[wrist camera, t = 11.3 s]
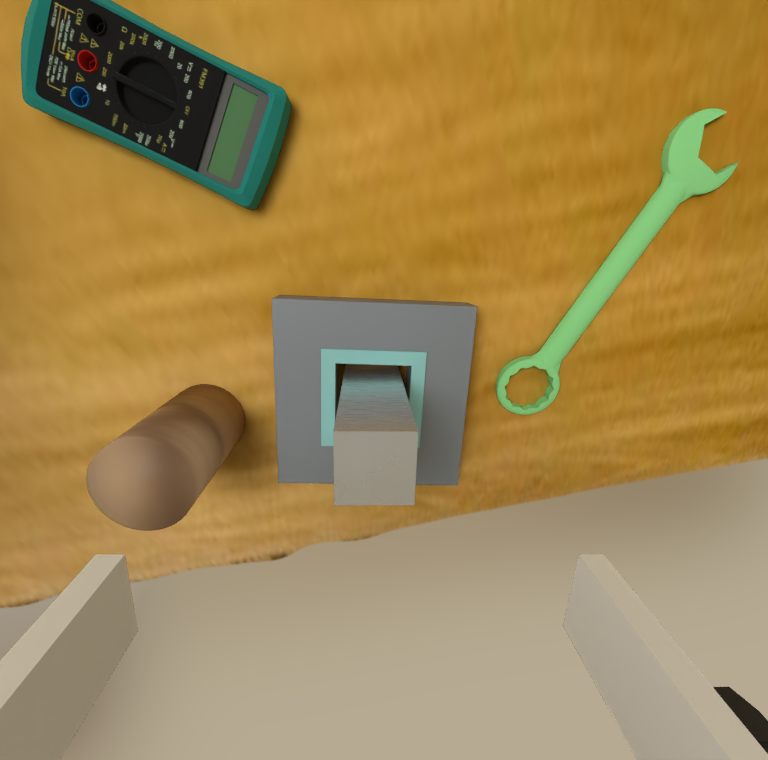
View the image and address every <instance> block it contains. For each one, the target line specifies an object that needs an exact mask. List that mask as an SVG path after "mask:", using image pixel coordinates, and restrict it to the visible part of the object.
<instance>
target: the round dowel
mask: <svg viewBox="0 0 768 760" xmlns="http://www.w3.org/2000/svg"><path fill="white" fill-rule="evenodd" d="M244 428H245V415H244V411H243V409H242V406H241V405H240V403H239V402H238V400H237V399H236V398H235V397H234V396H233V395H232V394H231V393H229V392H228V391H226V390H225V389H222V388H220V387H217V386H214V385H208V384H200V385H195V386H191V387H189V388H187V389H185V390H184V391H182V392H181V393H179V394H178V395H177V396H175V397H174V398H172V399H171V400H170V401H168V402H167V403H165V404H164V405H163V406H161V407H160V408H158V409H157V410H156V411H154V412H153V413H151V414H150V415H148V416H147V417H146V418H144V419H143V420H141V421H140V422H139V423H137V424H136V425H134V426H133V427H132V428H130V429H129V430H127V431H126V432H125V433H123V434H122V435H120V436H119V437H118V438H116V439H115V440H113V441H112V442H111V443H109V444H108V445H106V446H105V447H104V448H102V449H101V450H100V451H99V452H97V453H96V455H95V456H94V457H93V459H92V460H91V462H90V464H89V467H88V470H87V477H86V481H87V488H88V491H89V494H90V496H91V498H92V500H93V502H94V503H95V505H96V506H97V507H98V509H99V510H100V511H101V512H102V513H103V514H105V515H106V516H107V517H108V518H110V519H111V520H113V521H114V522H116V523H118V524H120V525H123V526H125V527H128V528H132V529H136V530H145V531H151V530H159V529H163V528H167V527H169V526H172V525H174V524H175V523H177V522H178V521H180V520H181V519H182V518H183V517H184V516H185V515H186V514H187V512H188V511H189V510H190V508H191V507H192V505H193V504H194V503H195V501H196V500H197V498H198V497H199V495H200V494H201V493H202V491H203V490H204V488H205V487H206V486H207V484H208V483H209V481H210V480H211V478H212V477H213V476H214V474H215V473H216V471H217V470H218V469H219V467H220V466H221V464H222V463H223V461H224V460H225V459H226V457H227V456H228V454H229V453H230V452H231V450H232V449H233V447H234V446H235V444H236V443H237V442H238V440H239V439H240V437H241V436H242V434H243V431H244Z"/></svg>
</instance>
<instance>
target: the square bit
mask: <svg viewBox="0 0 768 760" xmlns="http://www.w3.org/2000/svg"><path fill="white" fill-rule="evenodd" d="M417 447H418V429H417V426H416V423H415V419H414V416H413V413H412V410H411V407H410V403H409V400H408V397H407V394H406V391H405V387H404V384H403V381H402V378H401V375H400V371H399V368H398V365H371V364H346V366H345V371H344V376H343V382H342V387H341V393H340V398H339V403H338V409H337V414H336V419H335V425H334V430H333V450H334V506H337V505H414V503H415V484H416V466H417Z"/></svg>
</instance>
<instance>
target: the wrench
mask: <svg viewBox="0 0 768 760" xmlns="http://www.w3.org/2000/svg"><path fill="white" fill-rule="evenodd" d="M725 113H727V112H726V111H724V110H721V109H715V108H710V109H704V110H701V111H698V112H696V113H694V114H692V115H690V116H688V117H687V118H685V119H684V120H682V121H681V122H680V123H679V124H678V125H677V126H676V127H675V128H674V129H673V131H672V132H671V134H670V135H669V137H668V138H667V141H666V143H665V145H664V149H663V153H662V160H661V166H662V173H663V177H662V181H661V184H660V186H659V187H658V189H657V190H656V191H655V193H654V194H653V195H652V197H651V198H650V199H649V201H648V202H647V204H646V205H645V206H644V208H643V209H642V210H641V212H640V213H639V215H638V216H637V217H636V219H635V220H634V221H633V223H632V224H631V226H630V227H629V228H628V230H627V231H626V232H625V234H624V235H623V236H622V238H621V239H620V241H619V242H618V243H617V245H616V246H615V247H614V249H613V250H612V252H611V253H610V254H609V256H608V257H607V258H606V260H605V261H604V263H603V264H602V265H601V267H600V268H599V269H598V271H597V272H596V274H595V275H594V276H593V278H592V279H591V280H590V282H589V283H588V285H587V286H586V287H585V289H584V290H583V291H582V293H581V294H580V296H579V297H578V298H577V300H576V301H575V302H574V304H573V305H572V307H571V308H570V309H569V311H568V312H567V313H566V315H565V316H564V318H563V319H562V320H561V322H560V323H559V324H558V326H557V327H556V329H555V330H554V331H553V333H552V334H551V335H550V337H549V338H548V340H547V341H546V342H545V344H544V345H543V346H542V348H541V349H540V351H539V352H537V353H536V354H534V355H532V356H523V357H519V358H516V359H514V360H512V361H510V362H509V363H508V364H506V365H505V366H504V367H503V368H502V370H501V371H500V373H499V375H498V378H497V381H496V394H497V397H498V399H499V401H500V403H501V404H502V405H503V407H504V408H506V409H507V410H508V411H510V412H512V413H516V414H521V415H527V414H533V413H537V412H539V411H541V410H543V409H545V408H546V407H548V406H549V405H550V404H551V403H552V402H553V400H554V399H555V398H556V396H557V394H558V391H559V387H560V380H559V376H558V373H559V369H560V365H561V362H562V360H563V359H564V358H565V356H566V355H567V354H568V352H569V351H570V350H571V348H572V347H573V346H574V344H575V343H576V342H577V340H578V339H579V338H580V336H581V335H582V334H583V332H584V331H585V329H586V328H587V327H588V325H589V324H590V323H591V321H592V320H593V319H594V317H595V316H596V315H597V313H598V312H599V311H600V309H601V308H602V307H603V305H604V304H605V303H606V301H607V300H608V299H609V297H610V296H611V295H612V293H613V292H614V291H615V289H616V288H617V287H618V285H619V284H620V283H621V281H622V280H623V279H624V277H625V276H626V275H627V273H628V272H629V270H630V269H631V268H632V266H633V265H634V264H635V262H636V261H637V260H638V258H639V257H640V256H641V254H642V253H643V252H644V250H645V249H646V248H647V246H648V245H649V244H650V242H651V241H652V240H653V238H654V237H655V236H656V234H657V233H658V232H659V230H660V229H661V228H662V226H663V225H664V224H665V222H666V221H667V220H668V218H669V217H670V216H671V214H672V213H673V211H674V210H675V209H676V207H677V206H678V205H679V204H680V203H682V202H683V201H685V200H686V199H688V198H689V197H691V196H694V195H701V194H705V193H708V192H711V191H713V190H715V189H717V188H718V187H720V186H721V185H722V184H723V183H724V182H726V180H727V179H728V178H729V177H730V176H731V175H732V173H733V171H734V170H735V168H736V166H737V164H738V162H737V163H734V164H731V165H729V166H727V167H725V168H723V169H721V170H720V171H718V172H716V173H714V172H713V171H712V170H711V169H710V168H709V167H708V166H707V165H706V164H705V163H704V162H703V161H701V160H700V159H699V158H698V154H699V150H700V145H701V141H702V136H703V130H704V125H705V124H707V123H709V122H710V121H712V120H714V119H716V118H718V117H720V116H721V115H723V114H725ZM532 366H536V367H537V368H539V369H544V370H545V372H546V373H547V374H548V382H549V384H550V385H549V386H548V387H547V389H546V391H545V396H544V397H542V398H540V399H538V400H537V402H536V403H535V404H528V405H525V406H523V407H522V406H520V405H518V404H512V403H511V401H510V400H509V398H507V397H506V394H507V392H506V390H505V388H504V387H505V386H506V385H507V384H508V382H509V378H510V376H511V375H514V374H516V373H517V372H518V371H519V370H520V368H530V367H532Z"/></svg>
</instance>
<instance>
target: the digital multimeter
mask: <svg viewBox="0 0 768 760" xmlns="http://www.w3.org/2000/svg"><path fill="white" fill-rule="evenodd" d="M92 1H93V2H92ZM94 2H95V3H94ZM111 11H112V12H111ZM135 52H136V53H135ZM21 76H22V93H23V99H24V100H25V102H26V103H27V104H28V105H30V106H31V107H34V108H36V109H38V110H40V111H42V112H44V113H47V114H49V115H51V116H53V117H56V118H58V119H60V120H63V121H65V122H68V123H70V124H72V125H75V126H77V127H79V128H82V129H84V130H87V131H89V132H91V133H94V134H96V135H98V136H100V137H103V138H105V139H107V140H109V141H112V142H114V143H116V144H118V145H121V146H123V147H125V148H127V149H130V150H132V151H134V152H137V153H139V154H141V155H143V156H145V157H147V158H149V159H151V160H153V161H155V162H157V163H159V164H162V165H164V166H166V167H168V168H170V169H172V170H174V171H176V172H178V173H180V174H182V175H184V176H186V177H188V178H190V179H192V180H194V181H195V182H197V183H199V184H201V185H203V186H205V187H207V188H209V189H211V190H213V191H215V192H216V193H218V194H220V195H222V196H224V197H226V198H228V199H230V200H232V201H234V202H236V203H237V204H239V205H241V206H243V207H246V208H248V209H252V210H253V209H256V208H257V207H258V205H259V203H260V201H261V198H262V196H263V194H264V192H265V190H266V187H267V185H268V183H269V180H270V178H271V175H272V173H273V170H274V168H275V165H276V162H277V159H278V156H279V153H280V150H281V146H282V143H283V139H284V136H285V132H286V128H287V124H288V120H289V116H290V112H291V103H290V101H289V99H288V96H287V94H286V92H285V90H284V89H283V88H281V87H280V86H278V85H276V84H273V83H271V82H269V81H267V80H265V79H263V78H261V77H258V76H256V75H254V74H252V73H250V72H248V71H246V70H244V69H241V68H239V67H237V66H235V65H233V64H231V63H229V62H226V61H224V60H222V59H220V58H218V57H216V56H214V55H212V54H210V53H208V52H206V51H204V50H202V49H200V48H198V47H196V46H194V45H192V44H190V43H188V42H186V41H184V40H182V39H180V38H179V37H177V36H175V35H173V34H171V33H169V32H167V31H165V30H163V29H161V28H159V27H157V26H156V25H154V24H152V23H150V22H148V21H147V20H145V19H143V18H141V17H140V16H138V15H136V14H134V13H132V12H131V11H129V10H127V9H125V8H124V7H122V6H120V5H118V4H116V3H115V2H113V1H111V0H91V1H90V0H32V2H31V5H30V8H29V10H28V13H27V16H26V20H25V25H24V31H23V37H22V43H21ZM178 85H179V86H178ZM51 102H52V103H51ZM53 103H54V104H53ZM72 112H73V113H72ZM74 113H75V114H74Z"/></svg>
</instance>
